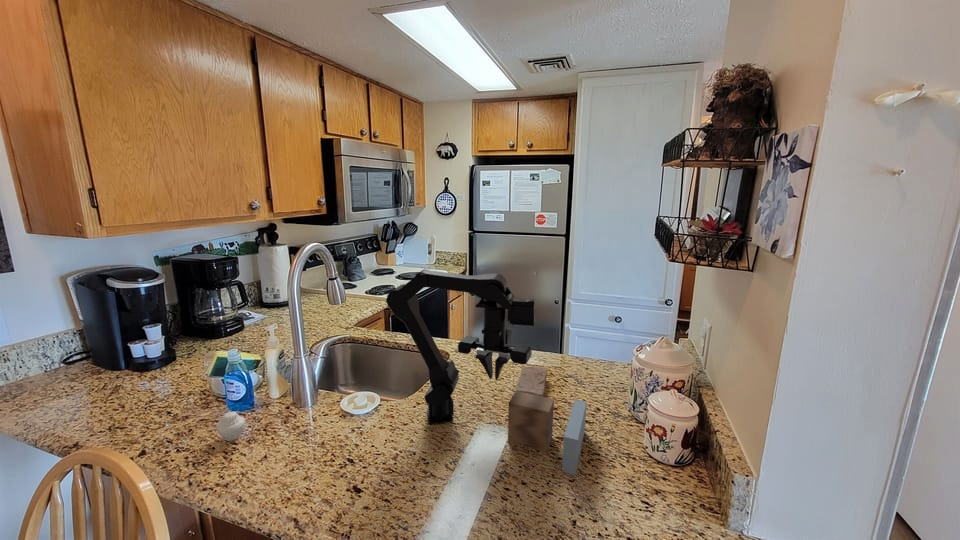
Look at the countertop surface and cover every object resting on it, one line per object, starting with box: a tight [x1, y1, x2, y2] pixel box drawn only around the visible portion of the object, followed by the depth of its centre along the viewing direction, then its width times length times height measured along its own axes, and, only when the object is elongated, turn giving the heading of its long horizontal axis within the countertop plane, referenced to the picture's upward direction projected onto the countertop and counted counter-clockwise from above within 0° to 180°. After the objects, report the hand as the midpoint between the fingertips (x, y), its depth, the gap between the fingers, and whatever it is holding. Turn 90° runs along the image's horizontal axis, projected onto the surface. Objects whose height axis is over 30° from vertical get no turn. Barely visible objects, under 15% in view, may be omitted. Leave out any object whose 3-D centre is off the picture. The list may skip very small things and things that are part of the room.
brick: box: [515, 365, 548, 397], centre depth 118 cm, size 17×8×5 cm, turn 166°
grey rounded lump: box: [216, 411, 246, 442], centre depth 96 cm, size 6×6×7 cm
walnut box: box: [507, 390, 555, 453], centre depth 95 cm, size 10×6×11 cm, turn 68°
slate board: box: [561, 399, 588, 476], centre depth 91 cm, size 3×16×9 cm, turn 158°
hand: (494, 378), depth 100 cm, fingers closed
